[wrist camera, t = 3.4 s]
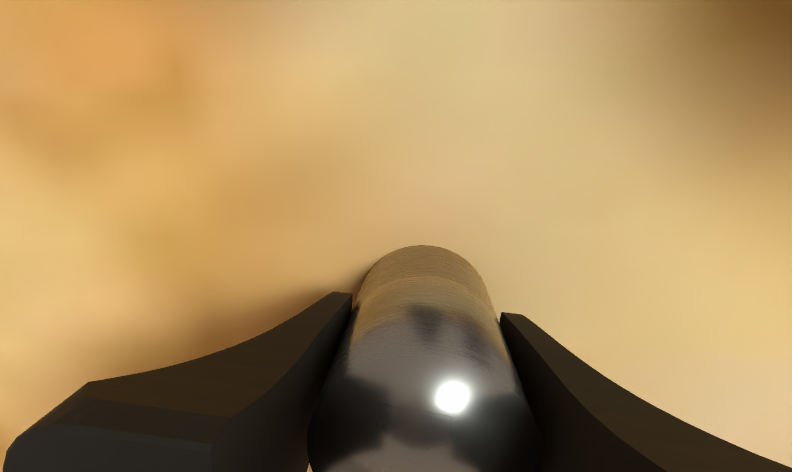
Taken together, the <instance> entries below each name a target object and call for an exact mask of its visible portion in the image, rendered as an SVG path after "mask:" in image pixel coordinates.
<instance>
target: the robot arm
mask: <svg viewBox="0 0 792 472" xmlns="http://www.w3.org/2000/svg"><path fill="white" fill-rule="evenodd" d="M352 296H353V294H348V293H340V292H332V293H330V294H328V295H327V296H325V297H324V298H322V299H321V300H319V301H318V302H316V303H315V304H313V305H312V306H310V307H309V308H307V309H306V310H304V311H303V312H301V313H299V314H298V315H296V316H295V317H293V318H291V319H289V320H287V321H286V322H284V323H282V324H280V325H279V326H277V327H275V328H273V329H271V330H269V331H267V332H265V333H263V334H261V335H259V336H257V337H255V338H252V339H250V340H248V341H245V342H243V343H241V344H238V345H236V346H233V347H230V348H227V349H225V350H222V351H219V352H216V353H213V354H210V355H207V356H204V357H201V358H198V359H195V360H191V361H188V362H184V363H180V364H177V365H173V366H169V367H165V368H161V369H156V370H152V371H147V372H143V373H137V374H132V375H126V376H121V377H116V378H110V379H105V380H99V381H92V382H88V383H87V384H85V385H84V386H83V387H81V388H80V389H79V390H78V391H76V392H75V393H74V394H72V395H71V396H70V397H69V398H67V399H66V400H65V401H63V402H62V403H61V404H59V405H58V406H57V407H56V408H54V409H53V410H52V411H50V412H49V413H48V414H47V415H45V416H44V417H43V418H41V419H40V420H39V421H38V422H36V423H35V424H34V425H32V426H31V427H30V428H28V429H27V430H26V431H25V432H23V433H22V434H21V435H19V436H18V437H17V438H16V439H15V441H14V442H13V443H12V444H11V446H10V447H9V448H8V450H7V452H6V457H5V461H4V465H3V472H307V469H308V465H309V459H308V454H307V441H306V440H307V431H308V426H309V423H310V419H311V416H312V414H313V411H314V408H315V406H316V403H317V401H318V398H319V395H320V393H321V390H322V388H323V385H324V382H325V380H326V377H327V375H328V372H329V369H330V367H331V364H332V362H333V359H334V356H335V354H336V351H337V349H338V346H339V343H340V341H341V338H342V336H343V333H344V330H345V328H346V325H347V323H348V320H349V317H350V315H351V311H352ZM499 325H500V327H501V330H502V333H503V336H504V338H505V341H506V344H507V346H508V349H509V352H510V354H511V357H512V360H513V362H514V365H515V368H516V371H517V373H518V376H519V379H520V381H521V384H522V387H523V389H524V392H525V395H526V397H527V400H528V403H529V406H530V408H531V411H532V414H533V416H534V419H535V422H536V424H537V427H538V430H539V433H540V437H541V443H542V465H541V470H540V472H792V468H791V467H788V466H785V465H783V464H780V463H778V462H775V461H772V460H770V459H767V458H765V457H762V456H759V455H757V454H755V453H752V452H750V451H747V450H745V449H743V448H741V447H738V446H736V445H734V444H731V443H729V442H727V441H725V440H722V439H720V438H718V437H716V436H713V435H711V434H709V433H707V432H705V431H703V430H701V429H698V428H696V427H694V426H692V425H690V424H688V423H686V422H684V421H682V420H680V419H678V418H676V417H674V416H672V415H670V414H669V413H667V412H665V411H663V410H661V409H659V408H657V407H655V406H653V405H651V404H650V403H648V402H646V401H644V400H642V399H641V398H639V397H637V396H636V395H634V394H632V393H631V392H629V391H627V390H626V389H624V388H622V387H621V386H619V385H617V384H616V383H614V382H613V381H611V380H610V379H608V378H606V377H605V376H603V375H602V374H600V373H599V372H598V371H596V370H595V369H593V368H592V367H590V366H589V365H588V364H586V363H585V362H583V361H582V360H581V359H579V358H578V357H577V356H575V355H574V354H573V353H571V352H570V351H569V350H567V349H566V348H565V347H563V346H562V345H561V344H560V343H558V342H557V341H556V340H555V339H553V338H552V337H551V336H550V335H548V334H547V333H546V332H545V331H543V330H542V329H541V328H540V327H538V326H537V325H536V324H534V323H533V322H532V321H531V320H529V319H528V318H526V317H525V316H523V315H520V314H512V313H504V312H502V313H501V317H500V322H499Z"/></svg>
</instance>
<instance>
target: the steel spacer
mask: <svg viewBox="0 0 792 472" xmlns="http://www.w3.org/2000/svg"><path fill="white" fill-rule="evenodd" d="M306 441H307V454H308V459H309V463H310V466H311V469H312V471H313V472H540V470H541V465H542V443H541V437H540V433H539V430H538V427H537V424H536V422H535V419H534V416H533V414H532V411H531V408H530V406H529V403H528V400H527V397H526V395H525V392H524V389H523V387H522V384H521V381H520V379H519V376H518V373H517V371H516V368H515V365H514V362H513V360H512V357H511V354H510V352H509V349H508V346H507V344H506V341H505V338H504V336H503V333H502V330H501V327H500V325H499V322H498V319H497V317H496V314H495V311H494V309H493V306H492V303H491V301H490V298H489V295H488V292H487V290H486V287H485V284H484V282H483V280H482V278H481V276H480V275H479V274H478V272H477V271H476V269H475V268H474V267H473V266H472V265H471V264H470V263H469V262H468V261H466V260H465V259H464V258H462V257H461V256H459V255H458V254H456V253H454V252H451V251H449V250H447V249H443V248H440V247H435V246H425V245H420V246H410V247H405V248H402V249H399V250H396V251H394V252H392V253H390V254H388V255H386V256H385V257H383V258H382V259H381V260H379V261H378V262H377V263H376V264H375V265H374V266H373V267H372V268H371V270H370V271H369V272H368V274H367V276H366V277H365V279H364V281H363V284H362V286H361V289H360V291H359V294H358V297H357V299H356V302H355V304H354V307H353V310H352V312H351V315H350V317H349V320H348V323H347V325H346V328H345V330H344V333H343V336H342V338H341V341H340V343H339V346H338V349H337V351H336V354H335V356H334V359H333V362H332V364H331V367H330V369H329V372H328V375H327V377H326V380H325V382H324V385H323V388H322V390H321V393H320V395H319V398H318V401H317V403H316V406H315V408H314V411H313V414H312V416H311V419H310V423H309V426H308V431H307V440H306Z"/></svg>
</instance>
